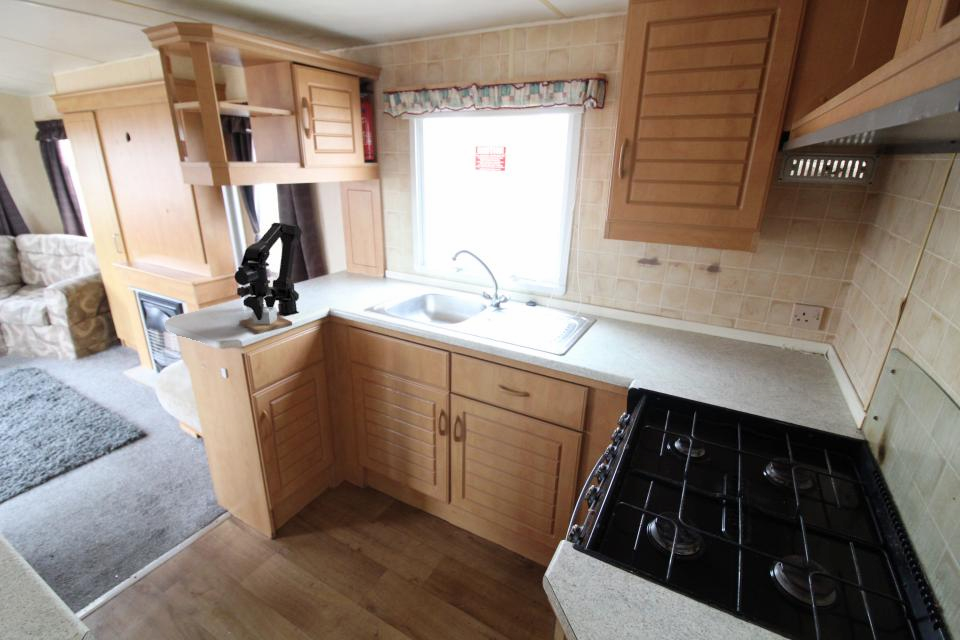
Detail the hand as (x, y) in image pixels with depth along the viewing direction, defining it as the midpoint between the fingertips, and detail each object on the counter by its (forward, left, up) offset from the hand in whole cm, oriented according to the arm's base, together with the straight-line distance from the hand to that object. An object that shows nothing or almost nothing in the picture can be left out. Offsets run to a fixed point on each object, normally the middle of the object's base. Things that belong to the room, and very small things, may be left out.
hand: (264, 316), depth 184 cm
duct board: (0, 0, -4) cm, 4 cm away
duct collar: (0, 0, -2) cm, 2 cm away
